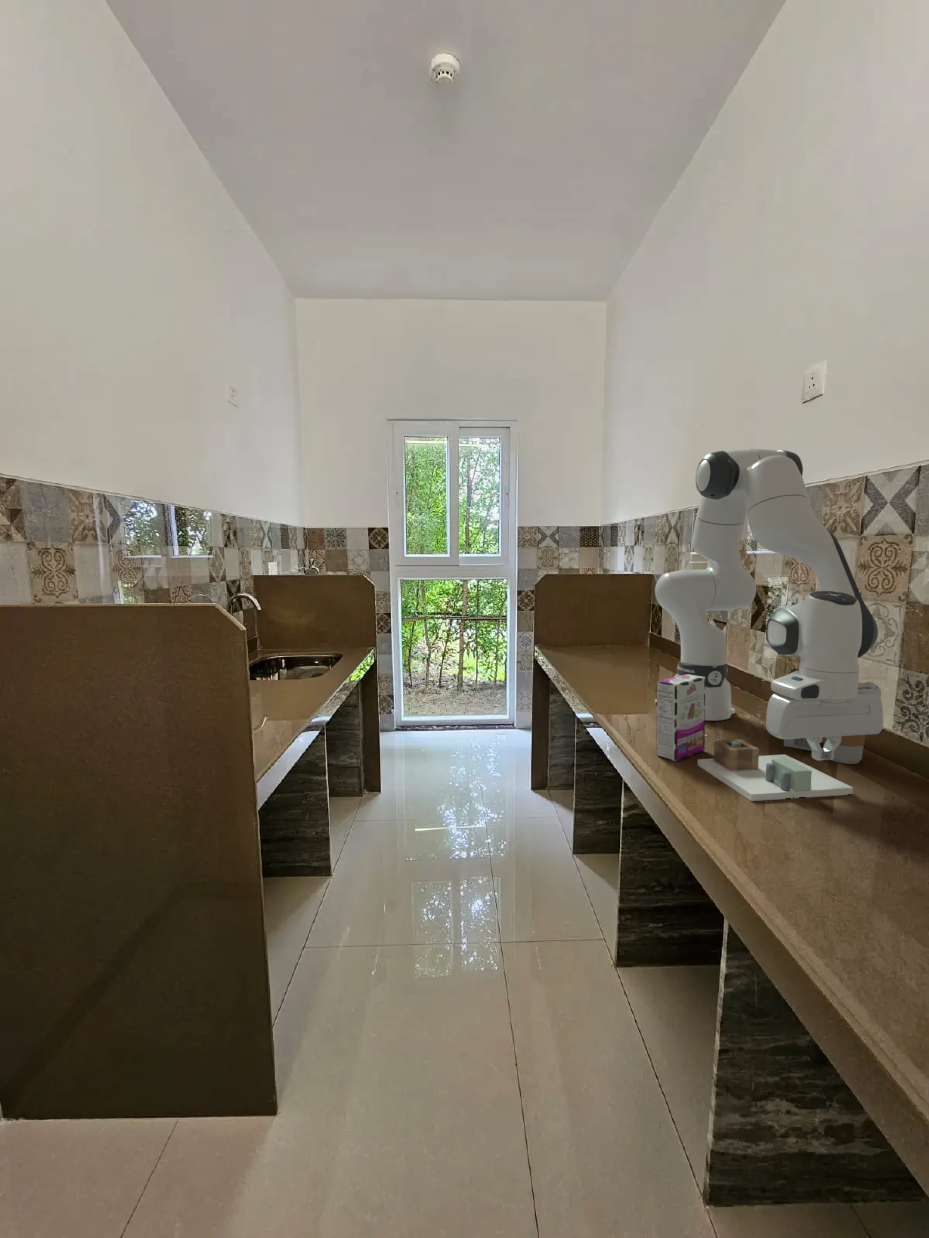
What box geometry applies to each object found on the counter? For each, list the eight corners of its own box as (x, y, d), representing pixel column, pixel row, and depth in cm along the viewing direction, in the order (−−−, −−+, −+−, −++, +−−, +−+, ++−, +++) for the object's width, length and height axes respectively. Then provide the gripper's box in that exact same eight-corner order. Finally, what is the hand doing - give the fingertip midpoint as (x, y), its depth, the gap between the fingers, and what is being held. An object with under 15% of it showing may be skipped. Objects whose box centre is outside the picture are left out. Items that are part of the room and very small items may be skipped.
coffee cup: (876, 767, 106) (880, 692, 105) (829, 764, 108) (832, 691, 106) (854, 753, 114) (858, 683, 113) (811, 750, 116) (814, 682, 115)
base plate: (697, 765, 109) (698, 737, 108) (784, 760, 111) (786, 733, 110) (751, 801, 92) (752, 768, 91) (852, 794, 94) (854, 762, 93)
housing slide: (771, 777, 99) (771, 759, 98) (786, 776, 99) (787, 758, 99) (794, 791, 93) (795, 771, 92) (810, 790, 93) (811, 770, 93)
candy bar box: (684, 745, 121) (685, 673, 119) (705, 751, 117) (707, 676, 115) (654, 755, 114) (655, 680, 113) (675, 762, 110) (677, 684, 109)
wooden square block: (713, 760, 108) (714, 740, 107) (740, 758, 108) (740, 739, 108) (730, 770, 102) (731, 750, 102) (758, 769, 103) (758, 748, 102)
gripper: (866, 677, 99) (860, 749, 101) (762, 681, 97) (758, 755, 99) (896, 685, 93) (890, 762, 95) (786, 690, 91) (782, 769, 93)
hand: (822, 758), depth 97 cm, fingers closed
